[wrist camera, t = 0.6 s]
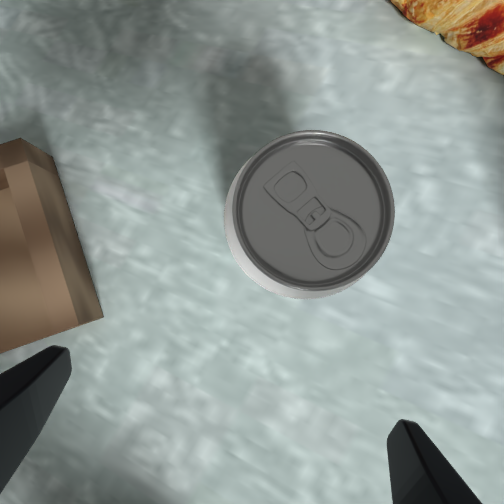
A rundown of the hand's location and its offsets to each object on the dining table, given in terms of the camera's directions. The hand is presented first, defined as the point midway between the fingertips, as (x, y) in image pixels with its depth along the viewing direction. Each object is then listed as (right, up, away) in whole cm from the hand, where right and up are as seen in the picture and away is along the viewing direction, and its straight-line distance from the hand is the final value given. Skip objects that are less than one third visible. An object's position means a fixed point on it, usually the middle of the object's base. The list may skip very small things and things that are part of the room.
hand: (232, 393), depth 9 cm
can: (+3, +4, +15) cm, 15 cm away
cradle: (-17, +3, +14) cm, 22 cm away
